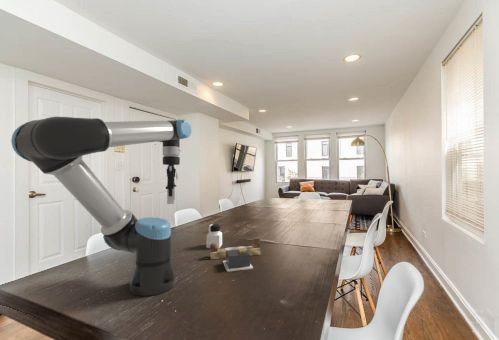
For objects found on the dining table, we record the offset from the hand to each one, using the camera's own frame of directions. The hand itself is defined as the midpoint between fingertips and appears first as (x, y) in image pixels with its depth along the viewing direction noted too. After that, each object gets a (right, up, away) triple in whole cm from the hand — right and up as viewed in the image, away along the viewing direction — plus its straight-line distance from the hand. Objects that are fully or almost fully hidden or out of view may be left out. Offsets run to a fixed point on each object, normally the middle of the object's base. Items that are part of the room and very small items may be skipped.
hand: (171, 202), depth 112 cm
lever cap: (+31, -26, -7) cm, 41 cm away
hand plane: (+29, -27, +6) cm, 40 cm away
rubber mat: (+31, -27, -7) cm, 41 cm away
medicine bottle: (+17, -27, +20) cm, 38 cm away
